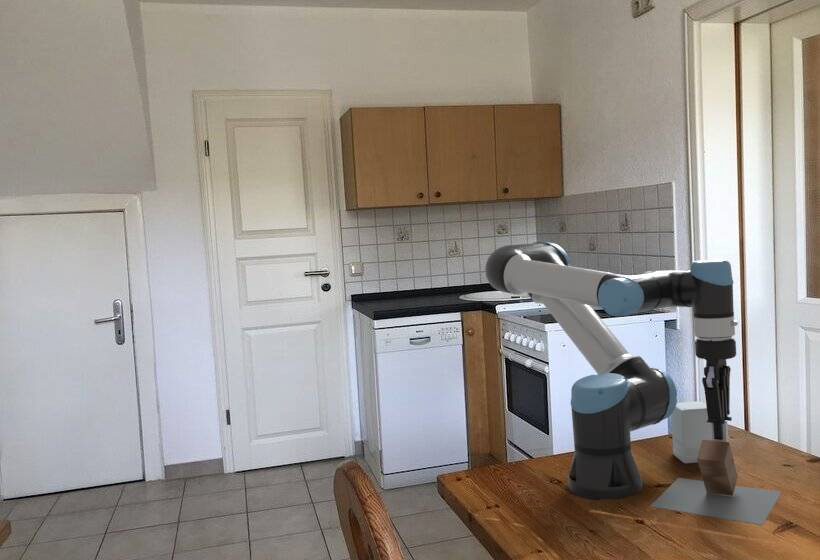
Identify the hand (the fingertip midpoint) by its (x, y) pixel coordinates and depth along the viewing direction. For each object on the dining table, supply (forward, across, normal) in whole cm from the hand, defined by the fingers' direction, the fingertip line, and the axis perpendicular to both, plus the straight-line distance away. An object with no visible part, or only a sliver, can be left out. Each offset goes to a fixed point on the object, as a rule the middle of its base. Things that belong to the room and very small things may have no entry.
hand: (721, 453), depth 144 cm
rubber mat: (+8, -5, 0) cm, 10 cm away
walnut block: (+6, -1, 0) cm, 6 cm away
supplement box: (+8, +19, +10) cm, 23 cm away
